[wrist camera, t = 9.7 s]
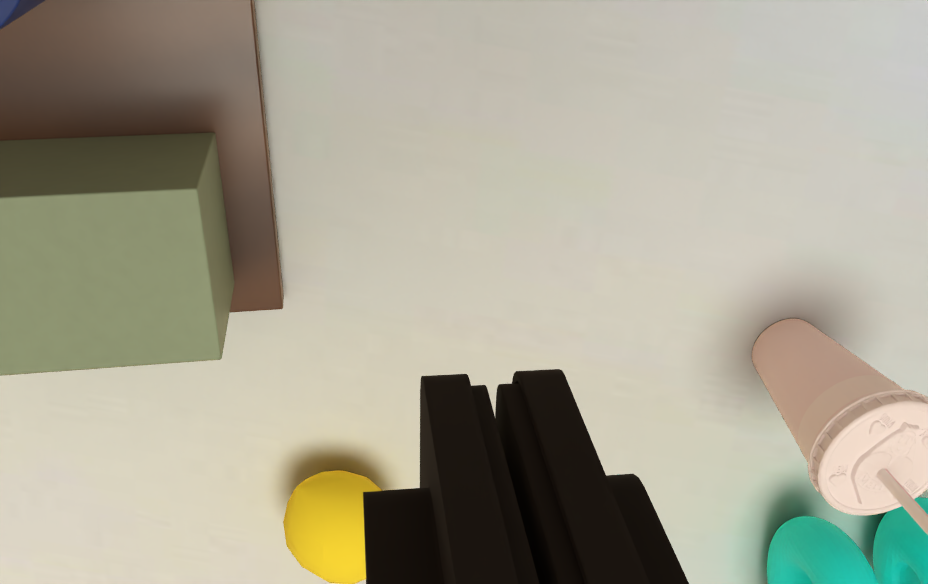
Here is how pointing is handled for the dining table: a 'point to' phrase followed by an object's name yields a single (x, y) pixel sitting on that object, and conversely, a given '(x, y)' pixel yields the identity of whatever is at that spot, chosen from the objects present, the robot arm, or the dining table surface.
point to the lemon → (329, 525)
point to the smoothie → (847, 421)
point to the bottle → (15, 9)
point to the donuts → (849, 552)
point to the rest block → (112, 252)
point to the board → (155, 100)
